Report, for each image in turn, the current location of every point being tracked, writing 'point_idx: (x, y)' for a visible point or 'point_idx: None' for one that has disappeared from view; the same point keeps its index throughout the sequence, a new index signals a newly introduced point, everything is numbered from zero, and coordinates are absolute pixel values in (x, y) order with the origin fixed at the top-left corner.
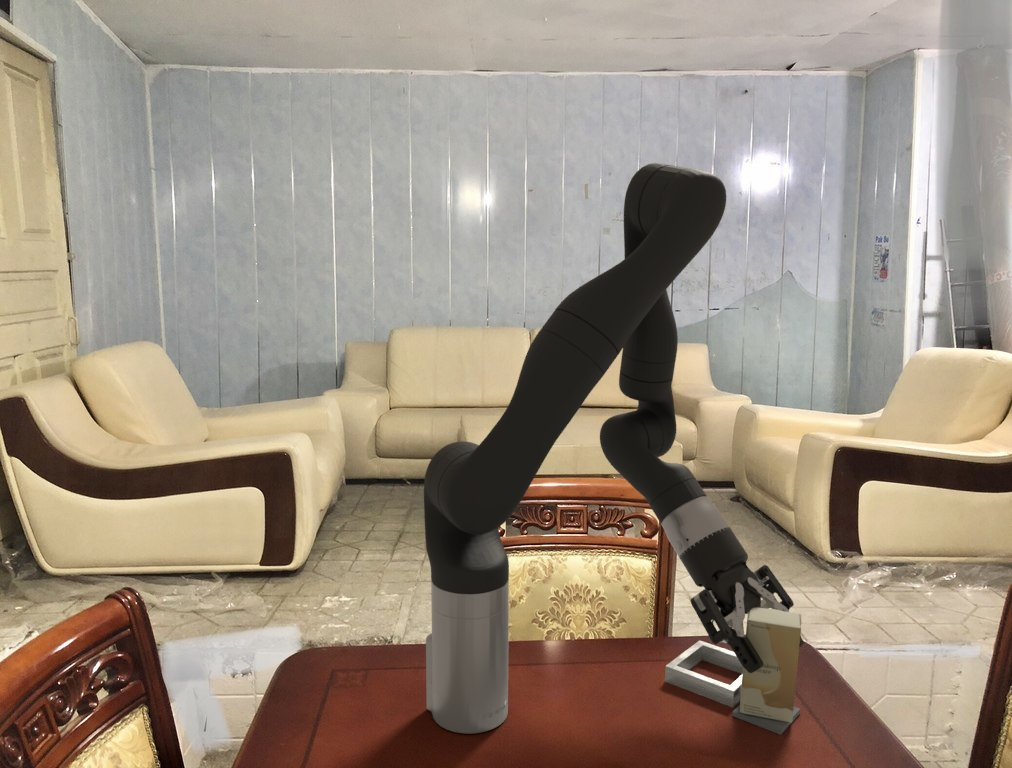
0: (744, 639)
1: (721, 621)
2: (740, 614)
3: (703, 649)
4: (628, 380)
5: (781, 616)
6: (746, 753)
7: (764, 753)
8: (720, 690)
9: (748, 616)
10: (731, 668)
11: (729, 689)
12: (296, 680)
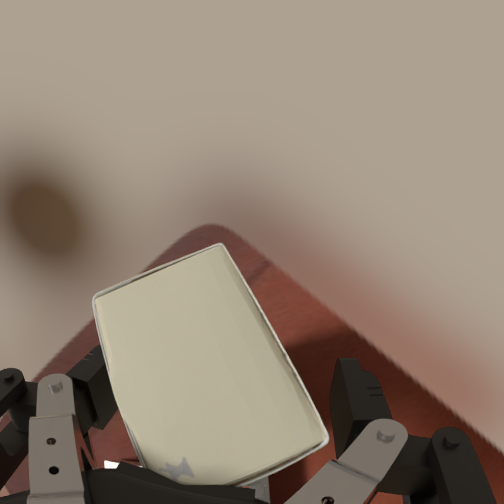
0: (375, 414)
1: (469, 472)
2: (357, 473)
3: None
4: None
5: (173, 339)
6: (378, 369)
7: (356, 350)
8: (269, 494)
9: (289, 461)
10: None
11: (267, 478)
12: None
